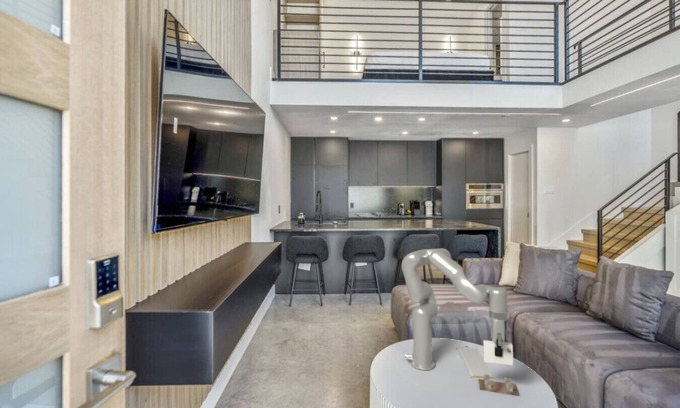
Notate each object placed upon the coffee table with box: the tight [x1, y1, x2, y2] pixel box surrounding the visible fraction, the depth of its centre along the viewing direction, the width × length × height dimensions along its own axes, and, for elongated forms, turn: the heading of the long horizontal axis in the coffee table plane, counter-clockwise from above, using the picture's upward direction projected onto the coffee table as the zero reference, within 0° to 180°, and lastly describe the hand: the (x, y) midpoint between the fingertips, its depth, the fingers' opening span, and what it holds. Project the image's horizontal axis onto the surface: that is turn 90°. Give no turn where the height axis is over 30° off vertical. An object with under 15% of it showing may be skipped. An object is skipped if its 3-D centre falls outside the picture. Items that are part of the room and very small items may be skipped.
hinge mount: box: [478, 374, 520, 397], centre depth 157 cm, size 16×8×4 cm, turn 72°
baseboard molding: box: [457, 345, 494, 380], centre depth 182 cm, size 31×3×12 cm
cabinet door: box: [483, 339, 514, 366], centre depth 157 cm, size 12×4×9 cm, turn 72°
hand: (498, 354), depth 157 cm, fingers closed on cabinet door, 3 cm apart
